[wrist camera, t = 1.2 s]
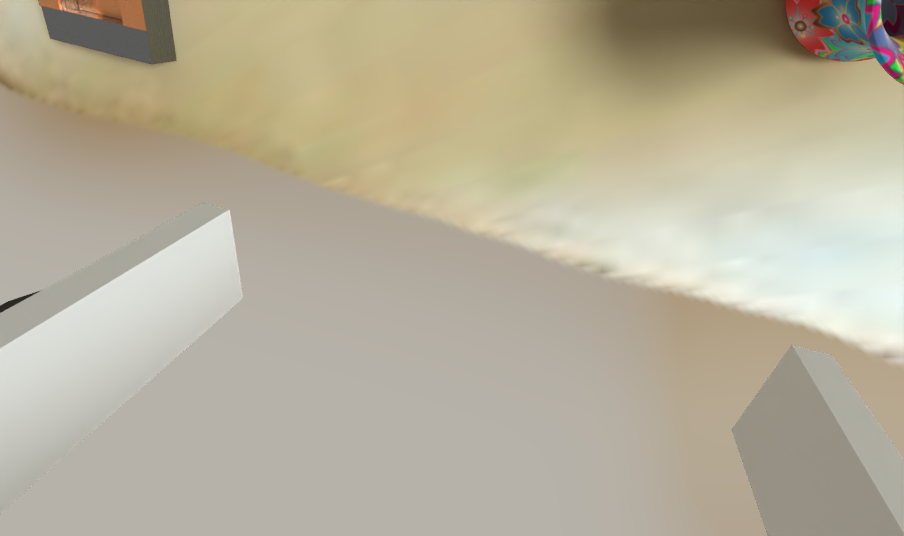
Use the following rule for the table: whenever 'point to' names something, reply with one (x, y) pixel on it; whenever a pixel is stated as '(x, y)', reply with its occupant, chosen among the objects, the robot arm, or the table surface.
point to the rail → (114, 27)
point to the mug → (852, 30)
